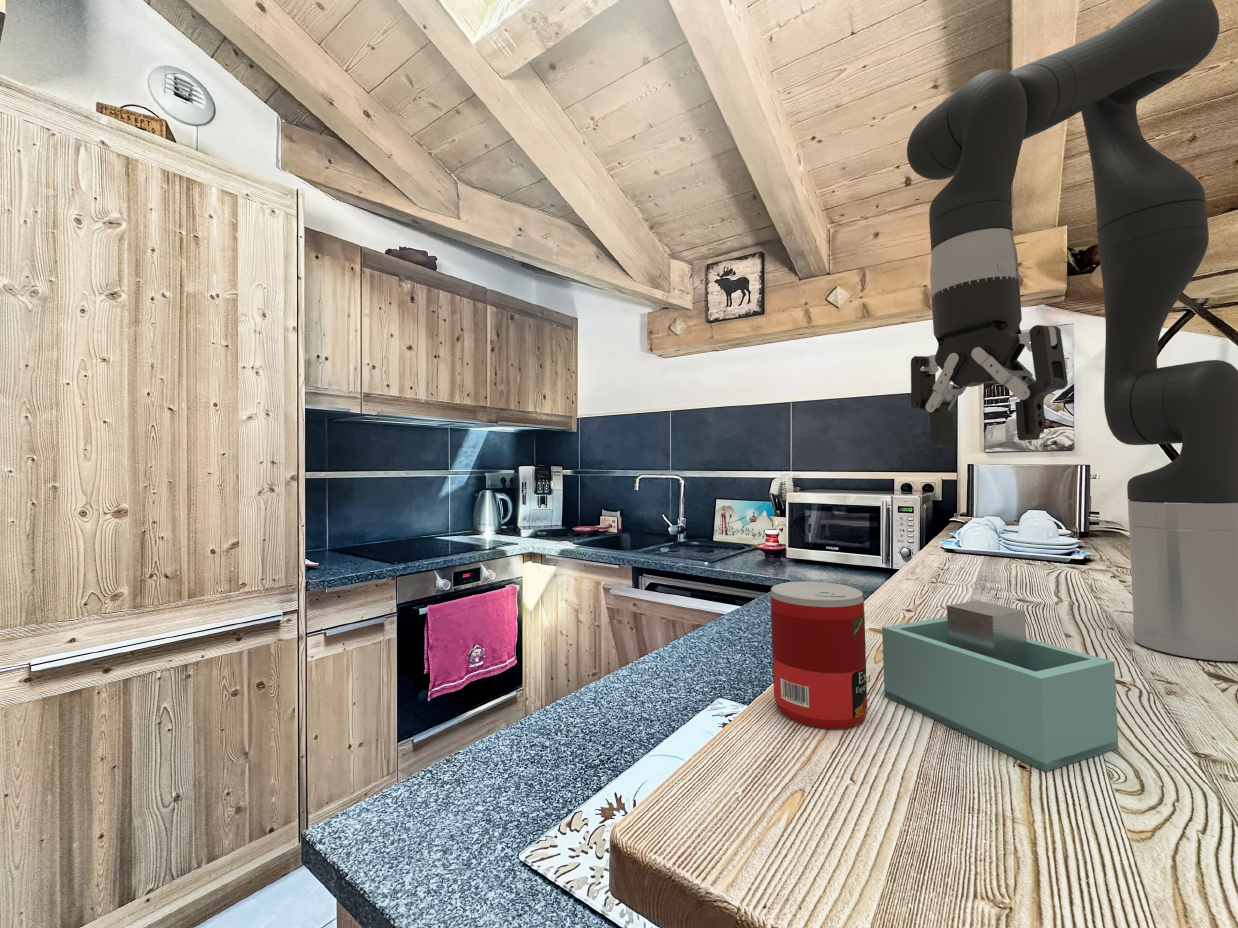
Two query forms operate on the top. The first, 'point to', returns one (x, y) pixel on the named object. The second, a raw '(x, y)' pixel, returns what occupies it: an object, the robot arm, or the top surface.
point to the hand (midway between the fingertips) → (983, 443)
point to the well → (1005, 694)
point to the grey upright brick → (989, 631)
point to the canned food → (819, 653)
